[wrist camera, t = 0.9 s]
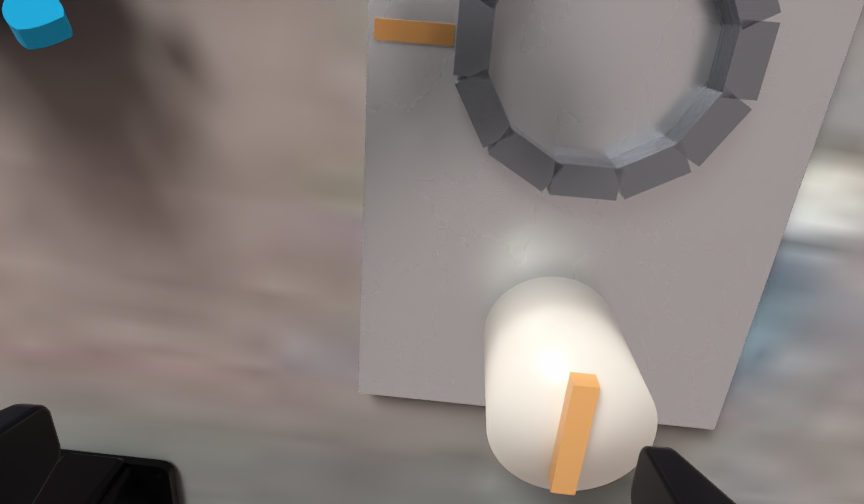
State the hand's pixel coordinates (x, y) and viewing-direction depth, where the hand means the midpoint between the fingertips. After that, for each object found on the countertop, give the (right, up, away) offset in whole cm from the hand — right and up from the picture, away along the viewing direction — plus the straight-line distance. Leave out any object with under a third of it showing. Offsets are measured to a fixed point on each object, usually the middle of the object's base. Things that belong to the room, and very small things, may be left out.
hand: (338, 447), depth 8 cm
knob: (+6, 0, +12) cm, 13 cm away
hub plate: (+6, +5, +11) cm, 14 cm away
